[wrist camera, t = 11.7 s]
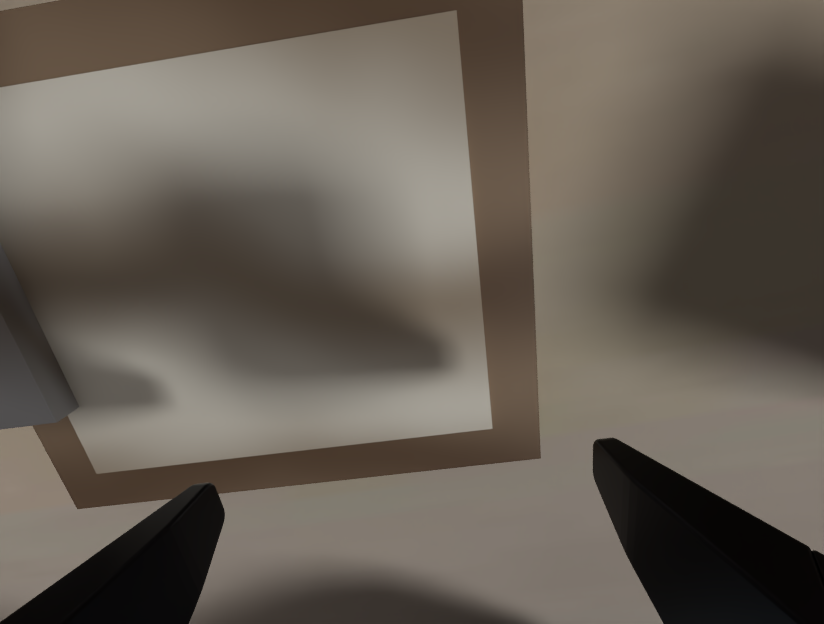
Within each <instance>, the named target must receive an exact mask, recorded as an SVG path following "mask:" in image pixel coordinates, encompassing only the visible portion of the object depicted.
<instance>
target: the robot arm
mask: <svg viewBox="0 0 824 624" xmlns="http://www.w3.org/2000/svg"><path fill="white" fill-rule="evenodd" d="M593 475H594V479H595V482H596V485H597V487H598V490H599V492H600V494H601V497H602V499H603V501H604V504H605V506H606V508H607V511H608V513H609V516H610V518H611V520H612V523H613V525H614V527H615V530H616V532H617V534H618V537H619V539H620V542H621V544H622V546H623V548H624V550H625V553H626V555H627V557H628V559H629V561H630V563H631V564H632V566H633V568H634V570H635V572H636V574H637V576H638V577H639V579H640V581H641V583H642V585H643V587H644V588H645V590H646V592H647V594H648V596H649V598H650V599H651V601H652V603H653V605H654V607H655V609H656V610H657V612H658V614H659V616H660V618H661V620H662V621H663V623H664V624H824V555H823V554H821V553H819V552H818V551H815V550H813V551H811V549H810V548H809V547H808V546H807V545H805V544H803V543H801V542H799V541H798V540H796V539H794V538H792V537H791V536H789V535H787V534H785V533H783V532H782V531H780V530H778V529H776V528H775V527H773V526H771V525H769V524H767V523H766V522H764V521H762V520H760V519H758V518H757V517H755V516H753V515H751V514H750V513H748V512H746V511H744V510H742V509H741V508H739V507H737V506H735V505H734V504H732V503H730V502H728V501H726V500H725V499H723V498H721V497H719V496H717V495H716V494H714V493H712V492H710V491H709V490H707V489H705V488H703V487H701V486H700V485H698V484H696V483H694V482H693V481H691V480H689V479H687V478H685V477H684V476H682V475H680V474H678V473H676V472H675V471H673V470H671V469H669V468H668V467H666V466H664V465H662V464H660V463H659V462H657V461H655V460H653V459H652V458H650V457H648V456H646V455H644V454H643V453H641V452H639V451H637V450H635V449H634V448H632V447H630V446H628V445H627V444H625V443H623V442H621V441H619V440H618V439H615V438H606V439H597V440H596V441H595V442H594V444H593ZM224 518H225V512H224V508H223V505H222V503H221V500H220V497H219V495H218V492H217V490H216V487H215V485H214V484H212V483H200V484H194V485H192V486H190V487H189V488H187V489H186V490H185V491H183V492H182V493H180V494H179V495H178V496H176V497H175V498H173V499H172V500H171V501H169V502H168V503H166V504H165V505H164V506H162V507H161V508H159V509H158V510H157V511H155V512H154V513H152V514H151V515H150V516H148V517H147V518H145V519H144V520H143V521H141V522H140V523H138V524H137V525H136V526H134V527H133V528H131V529H130V530H129V531H127V532H126V533H124V534H123V535H122V536H120V537H119V538H117V539H116V540H115V541H113V542H112V543H110V544H109V545H108V546H106V547H105V548H103V549H102V550H101V551H99V552H98V553H96V554H95V555H94V556H92V557H91V558H89V559H88V560H87V561H85V562H84V563H82V564H81V565H80V566H78V567H77V568H75V569H74V570H73V571H71V572H70V573H68V574H67V575H66V576H64V577H63V578H61V579H60V580H59V581H57V582H56V583H54V584H53V585H52V586H50V587H49V588H47V589H46V590H44V591H43V592H42V593H40V594H39V595H37V596H36V597H35V598H33V599H32V600H30V601H29V602H28V603H26V604H25V605H23V606H22V607H21V608H19V609H18V610H16V611H15V612H14V613H12V614H11V615H9V616H8V617H7V618H5V619H4V620H2V621H1V622H0V624H189V621H190V619H191V616H192V614H193V612H194V609H195V607H196V604H197V602H198V599H199V597H200V594H201V591H202V588H203V585H204V583H205V579H206V576H207V573H208V570H209V567H210V564H211V561H212V558H213V554H214V551H215V548H216V545H217V542H218V539H219V536H220V533H221V529H222V526H223V523H224Z"/></svg>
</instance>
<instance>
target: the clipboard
mask: <svg viewBox="0 0 824 624" xmlns="http://www.w3.org/2000/svg"><path fill="white" fill-rule="evenodd" d="M24 426H33V428H34V429H35V431H36V433H37V435H38V437H39V439H40V441H41V442H42V444H43V446H44V448H45V450H46V452H47V454H48V455H49V457H50V459H51V461H52V463H53V465H54V467H55V468H56V470H57V472H58V474H59V476H60V478H61V480H62V481H63V483H64V485H65V487H66V489H67V491H68V492H69V494H70V496H71V498H72V500H73V502H74V504H75V505H76V507H77V509H83V508H92V507H101V506H110V505H119V504H128V503H137V502H147V501H156V500H165V499H173V498H175V497H176V496H178V495H179V494H180V493H182V492H183V491H185V490H186V489H187V488H189V487H190V486H192V485H194V484H200V483H212V484H214V485H215V487H216V490H217V492H218V494H219V493H229V492H238V491H247V490H256V489H265V488H274V487H283V486H292V485H302V484H311V483H320V482H329V481H338V480H347V479H356V478H365V477H375V476H384V475H393V474H402V473H411V472H420V471H429V470H438V469H447V468H457V467H466V466H475V465H484V464H493V463H502V462H511V461H520V460H530V459H539V458H541V455H540V430H539V405H538V380H537V355H536V330H535V304H534V279H533V254H532V229H531V204H530V178H529V153H528V128H527V103H526V78H525V53H524V27H523V2H522V0H59V1H53V2H48V3H42V4H37V5H31V6H26V7H20V8H15V9H9V10H3V11H0V429H7V428H15V427H24Z"/></svg>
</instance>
